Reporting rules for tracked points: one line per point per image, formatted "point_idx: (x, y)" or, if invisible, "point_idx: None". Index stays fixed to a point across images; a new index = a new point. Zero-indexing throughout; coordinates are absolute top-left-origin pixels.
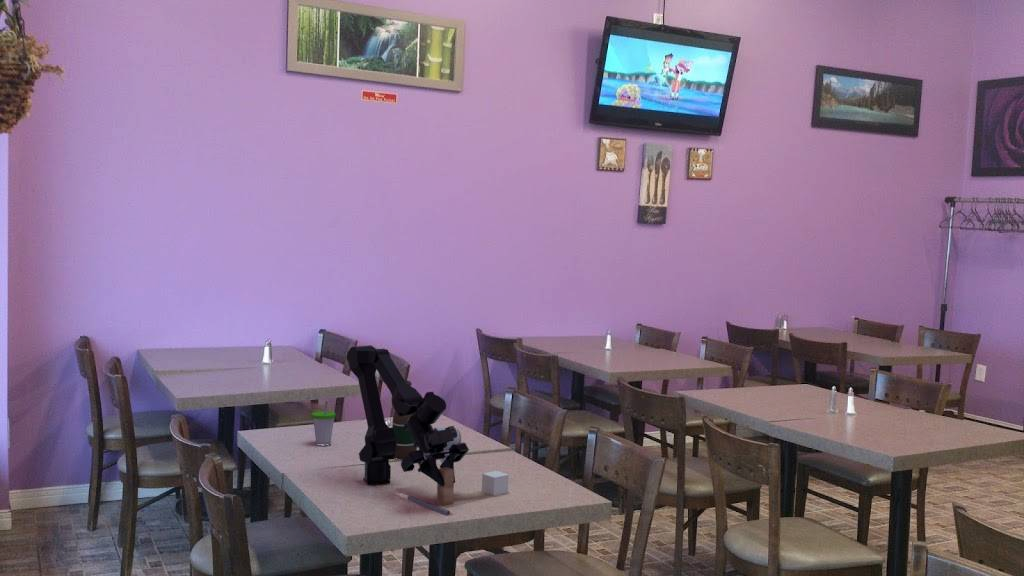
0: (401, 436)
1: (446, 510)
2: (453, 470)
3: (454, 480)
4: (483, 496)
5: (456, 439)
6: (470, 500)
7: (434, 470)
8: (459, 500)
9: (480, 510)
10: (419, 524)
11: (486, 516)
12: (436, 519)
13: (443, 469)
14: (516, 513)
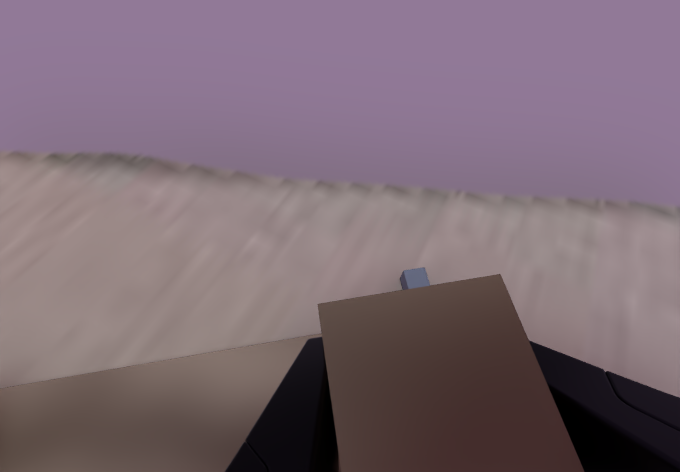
0: None
1: (418, 286)
2: (327, 306)
3: (314, 340)
4: (44, 434)
5: None
6: (189, 385)
7: (677, 409)
8: (251, 425)
9: (221, 272)
10: (584, 222)
11: (257, 189)
12: (488, 248)
13: (485, 403)
14: (121, 168)
